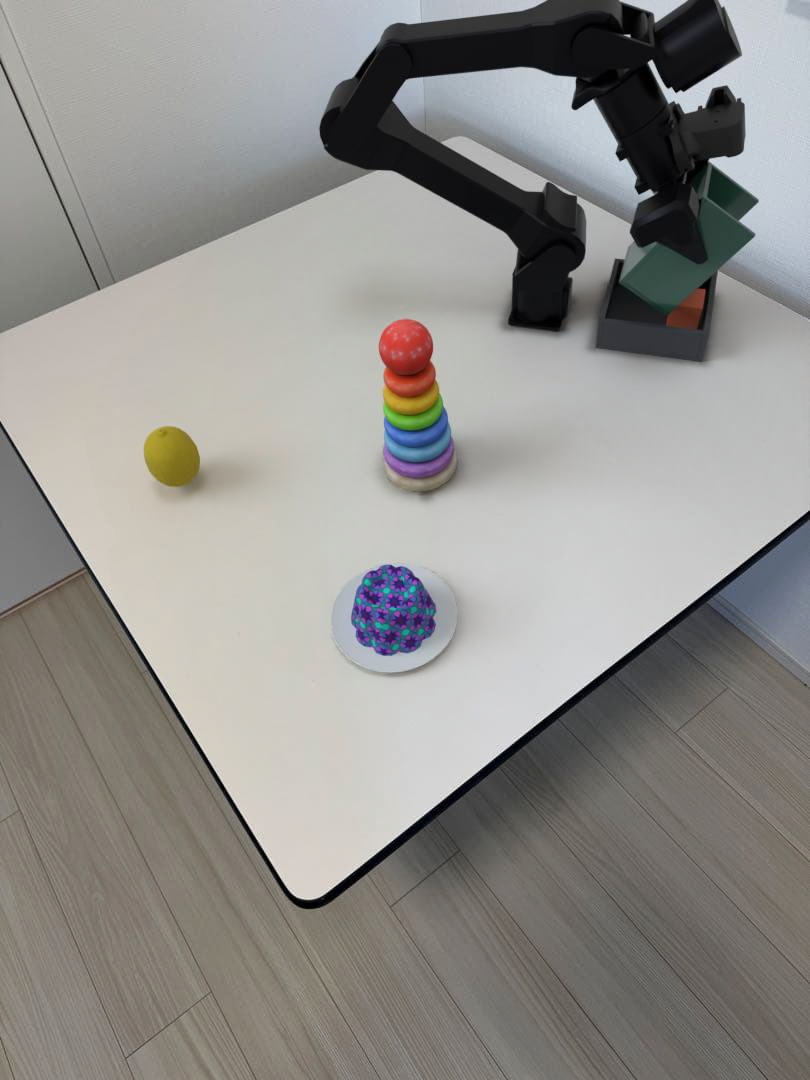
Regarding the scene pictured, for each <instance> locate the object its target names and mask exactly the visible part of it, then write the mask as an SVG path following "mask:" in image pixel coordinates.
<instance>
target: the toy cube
mask: <svg viewBox="0 0 810 1080" xmlns="http://www.w3.org/2000/svg"><path fill="white" fill-rule="evenodd" d="M705 291H706V290H705V289H696V290H695V291H694V292H693V293H692V294H691V295H690V296H689V297H688V298H686V299H685V300H684V301H683V302H682V303H681V304H680V305H679V306H678V307H676V308H675V309H674V310H673V311H672V312H671V313H670V314H669V315H668V318H667V323H666V326H672V327H680V328H688V329H696V330H697V329H698V325H699V321H700V317H701V313H702V309H703V303H704V297H705Z"/></svg>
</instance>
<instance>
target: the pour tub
mask: <svg viewBox="0 0 810 1080" xmlns="http://www.w3.org/2000/svg"><path fill="white" fill-rule="evenodd" d="M687 185H691V186H693V188H694V190H695V192H696V194H697V198H698V200H699V199H702V205H701V211H700V215H699V217H698V218H697V220H696V222H697V225H698V228H699V231H700V234H701V237H702V240H703V243H704V246H705V250H706V253H707V257H708V259H707V261H706V262H704V263H702V264H696V263H694V262H693V261H691V260H689V259H687V258H686V257H684V256H682V255H680V254H678V253H677V252H675V251H673V250H671V249H669V248H668V247H665V246H663V245H661V244H659V243H657V242H654V243H652V244H649V245H647V246H645V247H643V248H640V247H638V246H637V245H636V243H635V241H634V240H633V241H632V242H631V243H630V245H628V246H627V250H626V253H625V257H624V259H625V261H624V265H623V269H622V272H621V276H620V280H619V283H620V284H622V285H623V286H624V287H626V288H627V289H629V290H630V291H632V292H633V293H634V294H636V295H637V296H639V297H640V298H642V299H643V300H644V301H646V302H647V303H649V304H650V305H652V306H653V307H654V308H656V309H657V310H659V311H660V312H661V313H663V314H664V315H666V316H668V315H669V314H670V313H671V312H672V311H673V310H674V309H675V308H676V307H678V306H679V305H680V304H681V303H682V302H683V301H684V300H685V299H686V298H688V297H689V296H690V295H691V294H692V293H693V292H694V291H695V290H696V289H697V288H699V287H700V286H701V285H702V284H703V283H704V282H705V281H706V280H707V279H708V278H710V277H711V276H712V275H713V274H714V273H715V272H716V271H717V270H718V271H719V270H720V269H721V268H722V267H723V266H724V265H725V264H727V262H728V261H730V260H731V259H732V258H733V257H734V256H735V255H736V254H737V253H739V252H740V251H741V250H742V249H743V248H744V247H745V246H746V245H748V244H749V242H751V241H752V240H753V239H754V238H755V237H756V232H755V231H753V230H751V228H749V227H748V226H746V225H745V224H743V223H742V222H741V219H743V217H744V216H746V215H747V214H748V213H749V212H750V211H751V210H752V209H754V207H755V206H756V205H757V204H758V203H760V199H759V198H758V197H756V196H755V195H753V194H752V193H751V192H750V191H749V190H747V189H746V188H744V187H743V186H742V185H740V184H739V183H738V182H737V181H736V180H734V179H733V178H732V177H730V176H729V175H728V174H726V173H725V172H724V171H722V170H721V169H719V167H717V166H716V165H714V164H713V162H711V161H708V163H707V164H706V165H705V166H704V167H703V168H702V169H701V170H700V172H699V173H698V174H697V175H696V176H695V177H694V178H693V179H692V180H691V181H690V182H689V183H688V184H687Z"/></svg>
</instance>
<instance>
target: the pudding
mask: <svg viewBox="0 0 810 1080" xmlns="http://www.w3.org/2000/svg"><path fill="white" fill-rule="evenodd" d="M457 604H458V603H457V602H456V598H455V596H454V593H453V591H452V590H451V588H450V586H449V585H448V584H447V583H446V582H445V580H444V579H442V578H441V577H440V576H439V575H438V574H437V573H434V572H433V571H431V570H429V569H428V568H426V567H422V566H420V565H418V564H412V563H409V562H389V563H388V562H386V563H381V564H377V565H375V566H372V567H369V568H366V569H364V570H363V571H361V572H359V573H357V574H356V575H355V576H354V577H353V576H352V578H351V579H350V580H348V582H346V583H345V585H344V586H343V587H342V588H341V589H340V591H339V592H338V594H337V595H336V597H335V599H334V601H333V604H332V606H331V611H330V617H329V618H330V621H329V623H330V625H329V626H330V631H331V635H332V638H333V640H334V642H335V644H336V645H337V647H338V649H339V651H340V652H342V654H343V655H344V656H345V657H347V659H349V660H350V661H352V662H354V663H355V664H356V665H358V666H360V667H362V668H364V669H366V670H370V671H374V672H377V673H378V672H379V673H403V672H406V671H410V670H414V669H416V668H419V667H421V666H424V665H426V664H427V663H430V661H432V660H434V659H435V658H436V657H437V656H438V655H440V653H442V652H443V650H444V649H446V647H447V646H448V644H449V643H450V642H451V639H452V637H453V636H454V634H455V630H456V629H457V624H458V617H459V615H458V614H459V613H458V605H457Z"/></svg>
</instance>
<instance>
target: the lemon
mask: <svg viewBox="0 0 810 1080" xmlns="http://www.w3.org/2000/svg"><path fill="white" fill-rule="evenodd" d="M143 459H144V462H145V465H146V468H147V469H148V472H149V473H150V474H151V475H152V477H153V478H154V479H155V480H156V481H157V482H159V483H160V484H162V485H164V486H167V487H172V488H178V487H183V486H186V485H188V484H189V483H191V482H192V481H193V480H194V479H195V478H196V477H197V475H198V473H199V470H200V466H201V456H200V452H199V449H198V447H197V444H196V442H194V440H193V439H192V437H191V436H190V435H189V434H188V433H187V432H185V430H183V429H181V428H179V427H177V426H172V425H171V426H170V425H165V426H161V427H157V428H155V429H153V431H151V432H150V433H149V434H148V435H147V437H146V439H145V441H144V444H143Z"/></svg>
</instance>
